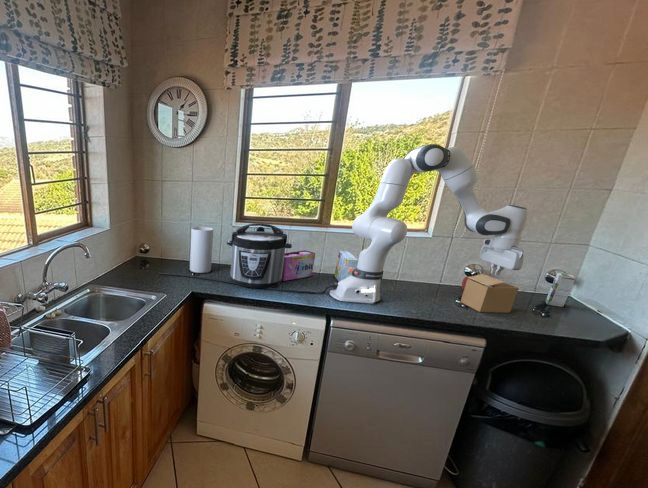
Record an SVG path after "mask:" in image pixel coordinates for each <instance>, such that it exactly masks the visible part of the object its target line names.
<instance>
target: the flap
mask: <svg viewBox="0 0 648 488" xmlns="http://www.w3.org/2000/svg"><path fill="white" fill-rule="evenodd" d="M470 276H471V275H470ZM467 277H468V276H467ZM468 278H469V279H472V280H474V281H477V282H479V283H481V284H484V285H486V286H493V285H497V284H502V283H505V282H504V281H503V280H500V279H497V278H495V277H492V276H490V275H486V274H485V273H481V274H480V275H477V274H476V275H472V276H471V277H468Z"/></svg>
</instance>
